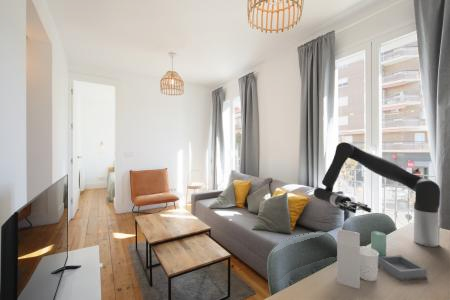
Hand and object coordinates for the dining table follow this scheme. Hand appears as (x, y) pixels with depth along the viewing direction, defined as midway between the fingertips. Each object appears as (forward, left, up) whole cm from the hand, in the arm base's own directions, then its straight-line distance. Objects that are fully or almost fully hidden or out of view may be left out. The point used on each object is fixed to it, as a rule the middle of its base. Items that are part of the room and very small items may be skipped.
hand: (362, 210), depth 108 cm
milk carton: (+25, +24, -19) cm, 39 cm away
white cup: (+16, +22, -19) cm, 33 cm away
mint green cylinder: (0, +10, -19) cm, 21 cm away
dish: (0, +21, -19) cm, 28 cm away
